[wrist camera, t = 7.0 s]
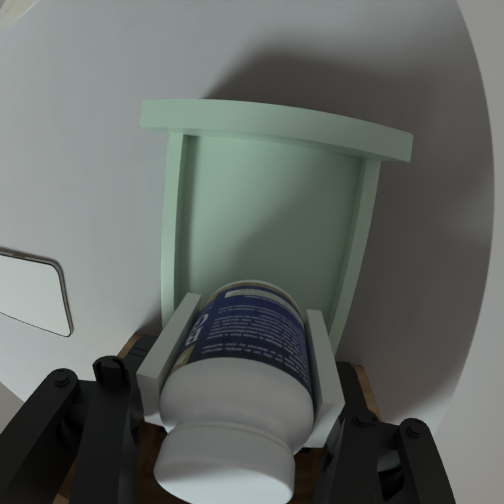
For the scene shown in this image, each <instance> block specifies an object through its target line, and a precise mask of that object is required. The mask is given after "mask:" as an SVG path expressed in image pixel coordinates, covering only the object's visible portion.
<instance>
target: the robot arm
mask: <svg viewBox="0 0 504 504" xmlns="http://www.w3.org/2000/svg"><path fill="white" fill-rule="evenodd" d="M201 301H202V295H201V294H195V293H189V292H188V293H187V294H186V296H185V297H184V299H183V300H182V302H181V303H180V305H179V306H178V308H177V309H176V311H175V312H174V314H173V316H172V317H171V319H170V320H169V322H168V323H167V325H166V326H165V328H164V329H163V331H162V333H161V334H160V336H159V337H155V336H150V335H144V336H142V337H141V338H139V339H137V340H136V342H135V343H134V345H133V346H132V348H131V349H130V350H129V351H128V354H126V356H125V357H124V358H123V359H122V358H120V357H117V356H104V357H100V358H99V359H97V360H96V361H95V362H94V363H93V365H92V366H93V370H94V374H95V377H96V381H86V380H78V377H77V375H76V374H75V372H73V371H72V370H70V369H65V368H61V369H56V370H54V371H52V372H51V373H50V374H49V375H48V376H47V377H46V378H45V379H44V380H43V382H42V383H41V384H40V385H39V386H38V388H37V389H36V390H35V391H34V392H33V394H32V395H31V396H30V397H29V398H28V400H27V401H26V402H25V403H24V405H23V406H22V407H21V408H20V410H19V411H18V412H17V413H16V415H15V416H14V417H13V419H12V420H11V421H10V422H9V424H8V425H7V426H6V428H5V429H4V430H3V432H2V433H1V434H0V504H53V502H54V499H55V497H56V495H57V493H58V491H59V489H60V487H61V486H62V484H63V482H64V480H65V478H66V476H67V474H68V472H69V470H70V468H71V466H72V464H73V463H74V461H75V459H76V457H77V460H76V465H75V470H74V475H73V481H72V487H71V493H70V499H69V504H137V485H138V462H139V446H140V433H141V426H140V420H141V418H142V416H143V414H144V418H145V422H149V423H152V424H156V425H159V426H163V423H162V421H161V418H160V413H159V399H160V395H161V392H162V390H163V387H164V384H165V382H166V380H167V378H168V376H169V374H170V371H171V370H172V368H173V366H174V364H175V362H176V360H177V358H178V356H179V354H180V352H181V349H182V348H183V346H184V344H185V342H186V340H187V337H188V335H189V333H190V331H191V330H192V328H193V326H194V324H195V322H196V320H197V318H198V316H199V314H200V312H201ZM304 331H305V337H306V346H307V354H308V363H309V371H310V380H311V389H312V396H313V412H314V422H313V429H312V432H311V435H310V437H309V439H308V440H307V442H306V443H305V445H304V447H316V448H323V446H324V444H325V442H326V440H327V445H328V450H327V451H326V453H325V455H324V456H323V458H322V460H321V461H320V463H319V465H322V466H321V470H320V474H319V477H318V481H317V485H316V488H315V491H314V495H313V498H312V501H311V504H373V502H374V494H376V500H377V504H456V502H455V499H454V496H453V492H452V489H451V487H450V483H449V480H448V477H447V475H446V472H445V469H444V466H443V463H442V460H441V458H440V455H439V453H438V450H437V447H436V445H435V442H434V440H433V437H432V434H431V432H430V429H429V428H428V426H427V424H425V423H424V422H423V421H422V420H419V419H416V418H408V419H405V420H404V421H402V422H401V424H400V425H393V424H388V423H384V422H381V421H379V418H378V417H377V415H376V414H375V413H374V412H372V411H371V410H368V407H367V404H366V400H365V397H364V394H363V391H362V388H361V386H360V382H359V379H358V375H357V372H356V370H355V369H354V367H353V366H352V365H351V364H350V363H349V362H335V360H334V356H333V352H332V349H331V345H330V341H329V337H328V334H327V330H326V326H325V323H324V319H323V316H322V312H321V311H318V310H309V309H307V311H306V315H305V320H304Z"/></svg>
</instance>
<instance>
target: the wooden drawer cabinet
mask: <svg viewBox="0 0 504 504" xmlns="http://www.w3.org/2000/svg"><path fill="white" fill-rule="evenodd" d="M141 337H142V336H140V335H136V334H133V335H132V336H131V338H130V339H129V340H128V342H127V343H126V344H125V346H124V347H123V348H122V350H121V351H120V352H119V354H118V355H117V357H120V358H122V359H123V358H124V357H125V356H126V354H128V351H129V350H130V349H131V348H132V346H133V345H134V343H135V342H136V340H137V339H139V338H141ZM353 367H354V369H355V370H356V372H357V375H358V379H359V382H360V386H361V388H362V391H363V394H364V397H365V400H366V404H367V407H368V410H371V411H372V412H374V413H375V414H376V415H377V417H378V418H379V421H381V422H382V420H381V417H380V414H379V411H378V408H377V405H376V402H375V399H374V396H373V393H372V390H371V387H370V384H369V381H368V378H367V376H366V373H365V370H364V367H363V366H353ZM140 426H141V433H140V446H139V462H138V485H137V504H192V503H189V502H187V501H185V500H182V499H180V498H178V497H176V496H175V495H173V494H171V493H170V492H168V491H167V490H165V489H164V488H163V487H162V486H161V485H160V484H159V483H158V482H157V480H156V479H155V476H154V466H155V463H156V460H157V458H158V455H159V452H160V449H161V446H162V443H163V441H164V439H165V438H166V436H167V433H164V432H160V429H159V425H156V424H152V423H149V422H145V418H144V414H143V416H142V418H141V420H140ZM327 450H328V445H327V440H326V442H325V444H324V446H323V448H316V447H312V449H311V451H310V453H296V454H294V455H293V456H294V461H295V477H294V493H293V496H292V498H291V499H290V501H289V502H287V503H286V504H311V501H312V498H313V495H314V491H315V488H316V485H317V481H318V477H319V474H320V470H321V466H322V465H319V463H320V461H321V460H322V458H323V456H324V455H325V453H326V451H327ZM76 460H77V457H76V459H75V461H74V463H73V464H72V466H71V468H70V470H69V472H68V474H67V476H66V478H65V480H64V482H63V484H62V486H61V487H60V489H59V491H58V493H57V495H56V497H55V499H54V502H53V504H69V499H70V493H71V487H72V481H73V475H74V470H75V465H76ZM373 504H377V500H376V494H374V502H373Z"/></svg>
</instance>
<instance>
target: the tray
mask: <svg viewBox="0 0 504 504" xmlns="http://www.w3.org/2000/svg"><path fill="white" fill-rule="evenodd" d="M139 128H144V129H149V130H153V131H158V132H162V133H167V134H169V136H168V145H167V155H166V166H165V178H164V193H163V211H162V236H161V308H162V331H163V329H164V328H165V326H166V325H167V323H168V322H169V320H170V319H171V317H172V316H173V314H174V312H175V311H176V309H177V308H178V306H179V305H180V303H181V302H182V300H183V299H184V297H185V296H186V294H187V293H188V292H189V293H195V294H201V295H202V301H201V310H202V308H203V306H204V305H205V303H206V302H207V300H208V299H209V298H210V296H211V295H212V294H213V293H214V292H215V291H217V290H218V289H219V288H221V287H223V286H225V285H227V284H229V283H232V282H236V281H240V280H261V281H265V282H268V283H271V284H274V285H276V286H278V287H280V288H281V289H283V290H284V291H285V292H287V293H288V294H289V295H290V296H291V297H292V298H293V300H294V301H295V302H296V304H297V306H298V307H299V310H300V312H301V315H302V319H303V323H304V320H305V315H306V311H307V309H309V310H318V311H321V312H322V316H323V319H324V323H325V326H326V330H327V334H328V337H329V341H330V345H331V349H332V352H333V356H334V358H335V355H336V352H337V349H338V346H339V343H340V340H341V337H342V334H343V331H344V327H345V324H346V321H347V318H348V314H349V311H350V307H351V304H352V300H353V297H354V293H355V289H356V285H357V281H358V278H359V274H360V270H361V266H362V261H363V257H364V253H365V248H366V244H367V239H368V235H369V230H370V225H371V220H372V215H373V209H374V204H375V198H376V192H377V186H378V180H379V173H380V166H381V162H410V161H411V153H412V144H413V134H411V133H408V132H404V131H401V130H398V129H394V128H391V127H387V126H383V125H380V124H376V123H372V122H368V121H364V120H360V119H355V118H351V117H346V116H342V115H337V114H332V113H326V112H321V111H315V110H310V109H303V108H297V107H290V106H283V105H275V104H266V103H256V102H245V101H231V100H212V99H151V100H143V102H142V109H141V116H140V124H139Z"/></svg>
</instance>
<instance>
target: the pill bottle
mask: <svg viewBox="0 0 504 504" xmlns="http://www.w3.org/2000/svg"><path fill="white" fill-rule="evenodd" d="M159 413H160V418H161V421H162V423H163V426H164V428H165V429H166V431H167V433H168V434H167V436H166V438H165V439H164V441H163V443H162V446H161V449H160V452H159V455H158V458H157V460H156V463H155V466H154V476H155V479H156V480H157V482H158V483H159V484H160V485H161V486H162V487H163V488H164V489H165V490H167V491H168V492H170V493H171V494H173V495H175V496H176V497H178V498H180V499H182V500H185V501H187V502H189V503H192V504H286V503H287V502H289V501H290V499H291V498H292V496H293V493H294V477H295V461H294V456H293V455H294V454H296V453H297V452H298V451H299V450H300V449H301V448H302V447H303V446H304V445H305V443H306V442H307V440H308V439H309V437H310V435H311V432H312V429H313V422H314V412H313V396H312V389H311V380H310V371H309V363H308V354H307V346H306V337H305V331H304V323H303V319H302V315H301V312H300V310H299V307H298V306H297V304H296V302H295V301H294V300H293V298H292V297H291V296H290V295H289V294H288V293H287V292H285V291H284V290H283V289H281V288H280V287H278V286H276V285H274V284H271V283H268V282H265V281H261V280H240V281H236V282H232V283H229V284H227V285H225V286H223V287H221V288H219V289H218V290H217V291H215V292H214V293H213V294H212V295H211V296H210V298H209V299H208V300H207V302H206V303H205V305H204V306H203V308H202V310H201V312H200V314H199V316H198V318H197V320H196V322H195V324H194V326H193V328H192V330H191V331H190V333H189V335H188V337H187V340H186V342H185V344H184V346H183V348H182V349H181V352H180V354H179V356H178V358H177V360H176V362H175V364H174V366H173V368H172V370H171V371H170V374H169V376H168V378H167V380H166V382H165V384H164V387H163V390H162V392H161V395H160V399H159Z"/></svg>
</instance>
